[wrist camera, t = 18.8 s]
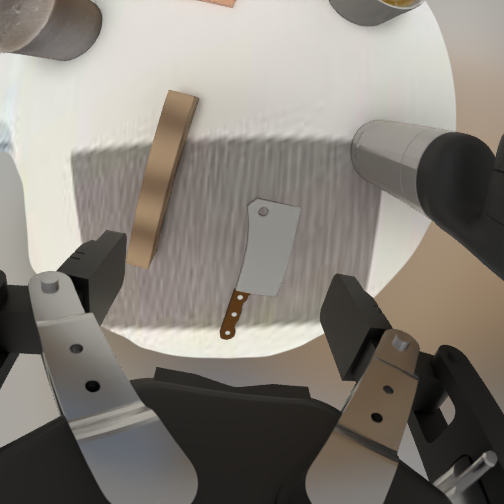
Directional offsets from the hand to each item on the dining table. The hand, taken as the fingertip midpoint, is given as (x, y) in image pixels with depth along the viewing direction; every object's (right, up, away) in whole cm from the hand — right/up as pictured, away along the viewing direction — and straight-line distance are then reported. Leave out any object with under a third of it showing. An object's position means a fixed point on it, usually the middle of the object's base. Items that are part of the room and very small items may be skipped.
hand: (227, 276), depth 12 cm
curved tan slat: (-11, +11, +29) cm, 33 cm away
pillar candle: (-24, +31, +19) cm, 44 cm away
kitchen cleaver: (+2, -3, +37) cm, 37 cm away
